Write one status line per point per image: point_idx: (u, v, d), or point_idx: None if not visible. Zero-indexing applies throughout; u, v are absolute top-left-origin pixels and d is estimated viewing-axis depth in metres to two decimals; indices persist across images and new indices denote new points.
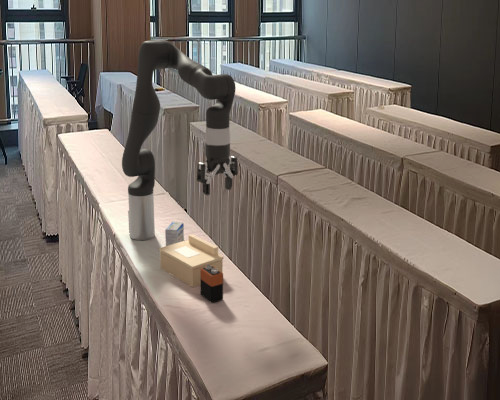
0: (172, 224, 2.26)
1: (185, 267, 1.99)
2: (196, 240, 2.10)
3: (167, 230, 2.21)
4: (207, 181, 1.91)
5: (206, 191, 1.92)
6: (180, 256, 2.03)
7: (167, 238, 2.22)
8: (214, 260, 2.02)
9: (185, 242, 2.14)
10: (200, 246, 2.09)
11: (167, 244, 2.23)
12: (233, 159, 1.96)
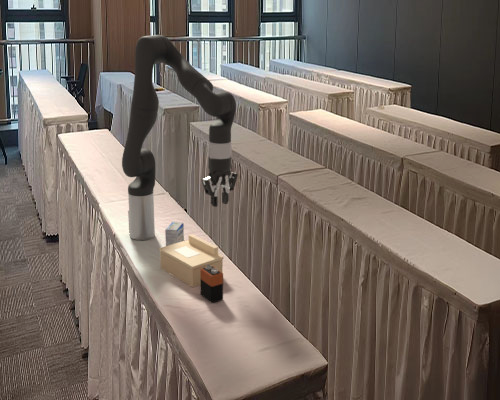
0: (172, 224, 2.26)
1: (185, 267, 1.99)
2: (196, 240, 2.10)
3: (167, 230, 2.21)
4: (215, 194, 2.05)
5: (214, 203, 2.07)
6: (180, 256, 2.03)
7: (167, 238, 2.22)
8: (214, 260, 2.02)
9: (185, 242, 2.14)
10: (200, 246, 2.09)
11: (167, 244, 2.23)
12: (234, 174, 2.09)
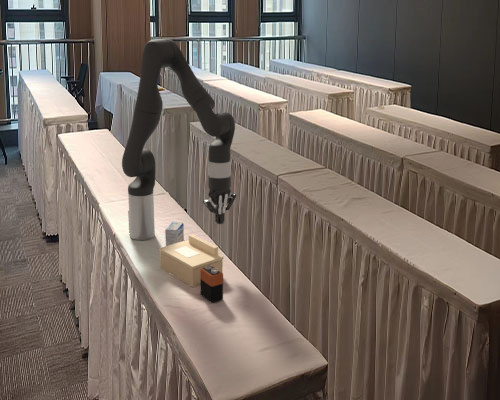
0: (172, 224, 2.26)
1: (185, 267, 1.99)
2: (196, 240, 2.10)
3: (167, 230, 2.21)
4: (219, 211, 2.08)
5: (218, 220, 2.10)
6: (180, 256, 2.03)
7: (167, 238, 2.22)
8: (214, 260, 2.02)
9: (185, 242, 2.14)
10: (200, 246, 2.09)
11: (167, 244, 2.23)
12: (232, 195, 2.11)
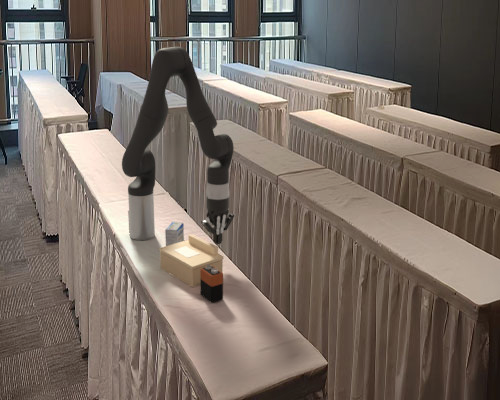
0: (172, 224, 2.26)
1: (185, 267, 1.99)
2: (196, 240, 2.10)
3: (167, 230, 2.21)
4: (217, 232, 2.10)
5: (216, 241, 2.12)
6: (180, 256, 2.03)
7: (167, 238, 2.22)
8: (214, 260, 2.02)
9: (185, 242, 2.14)
10: (200, 246, 2.09)
11: (167, 244, 2.23)
12: (230, 215, 2.13)
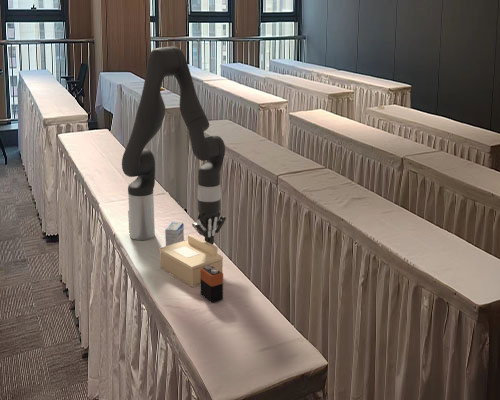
0: (172, 224, 2.26)
1: (185, 267, 1.99)
2: (195, 240, 2.10)
3: (167, 230, 2.21)
4: (209, 234, 2.08)
5: None
6: (179, 256, 2.03)
7: (167, 238, 2.22)
8: (213, 260, 2.01)
9: (185, 242, 2.14)
10: (199, 246, 2.09)
11: (167, 244, 2.23)
12: (222, 217, 2.11)
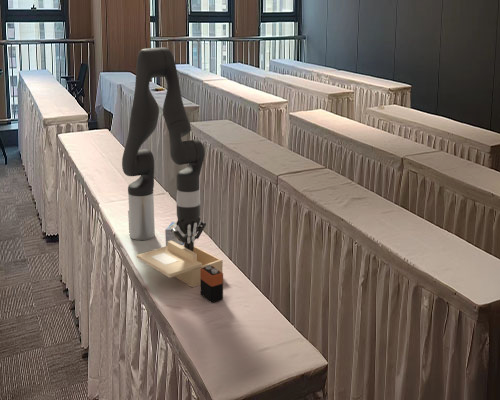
0: (172, 224, 2.26)
1: None
2: (175, 246, 2.05)
3: (167, 230, 2.21)
4: (188, 241, 2.03)
5: None
6: (157, 263, 1.97)
7: (167, 238, 2.22)
8: (192, 267, 1.96)
9: (164, 248, 2.08)
10: (179, 253, 2.03)
11: None
12: (202, 223, 2.05)
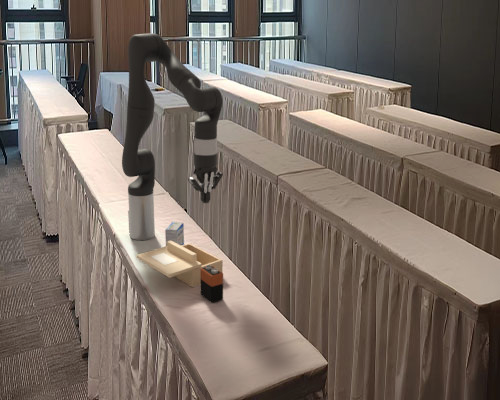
0: (172, 224, 2.26)
1: None
2: (174, 247, 2.04)
3: (167, 230, 2.21)
4: (205, 190, 2.03)
5: (204, 199, 2.04)
6: (157, 263, 1.97)
7: (167, 238, 2.22)
8: (192, 267, 1.96)
9: (164, 248, 2.08)
10: (178, 253, 2.03)
11: None
12: (219, 173, 2.06)
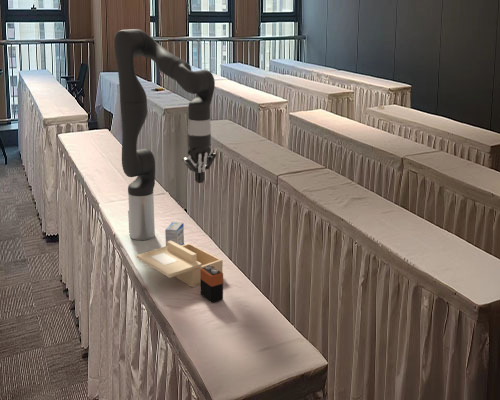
0: (172, 224, 2.26)
1: None
2: (174, 247, 2.04)
3: (167, 230, 2.21)
4: (199, 170, 2.10)
5: (198, 179, 2.11)
6: (157, 263, 1.97)
7: (167, 238, 2.22)
8: (192, 267, 1.96)
9: (164, 248, 2.08)
10: (178, 253, 2.03)
11: None
12: (212, 154, 2.12)
